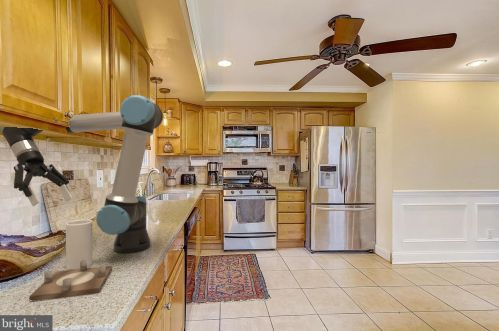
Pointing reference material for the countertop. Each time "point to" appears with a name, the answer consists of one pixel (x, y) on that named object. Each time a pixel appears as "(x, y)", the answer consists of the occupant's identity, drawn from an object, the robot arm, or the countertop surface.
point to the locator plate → (72, 282)
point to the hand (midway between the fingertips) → (54, 201)
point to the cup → (78, 243)
